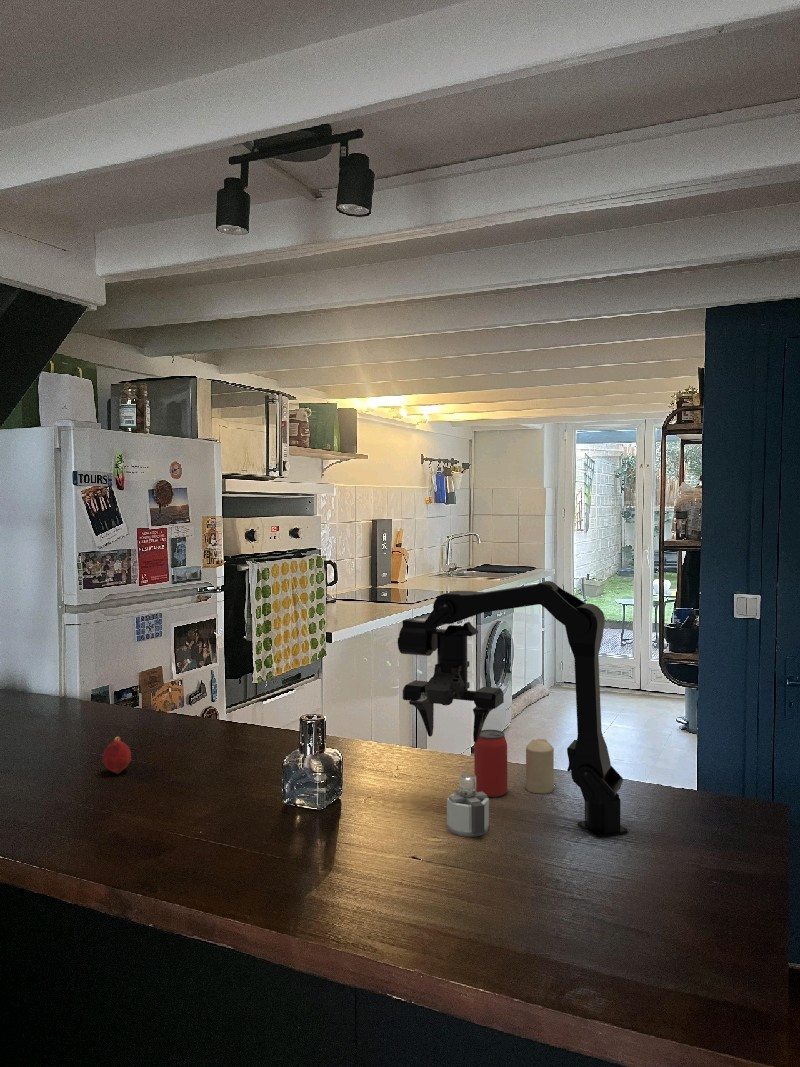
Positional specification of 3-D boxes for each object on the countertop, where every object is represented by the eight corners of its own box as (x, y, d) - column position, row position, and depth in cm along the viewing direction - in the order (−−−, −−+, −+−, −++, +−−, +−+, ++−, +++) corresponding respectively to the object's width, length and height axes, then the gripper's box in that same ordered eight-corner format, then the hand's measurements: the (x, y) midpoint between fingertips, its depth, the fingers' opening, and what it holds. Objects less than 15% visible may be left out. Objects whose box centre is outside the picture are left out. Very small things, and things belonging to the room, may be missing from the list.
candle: (545, 796, 162) (545, 746, 162) (521, 790, 166) (521, 741, 165) (558, 788, 167) (558, 739, 166) (534, 782, 170) (534, 735, 170)
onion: (125, 778, 175) (125, 741, 175) (99, 778, 175) (98, 741, 175) (135, 769, 181) (134, 733, 180) (109, 769, 181) (108, 733, 181)
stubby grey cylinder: (485, 822, 145) (485, 779, 145) (461, 826, 143) (461, 782, 143) (474, 813, 149) (474, 771, 149) (451, 816, 148) (450, 774, 147)
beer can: (506, 799, 161) (505, 738, 160) (472, 797, 162) (472, 737, 161) (508, 787, 167) (508, 729, 167) (476, 785, 168) (475, 727, 168)
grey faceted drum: (498, 835, 143) (498, 801, 143) (460, 842, 141) (460, 807, 140) (477, 818, 151) (477, 786, 151) (441, 824, 148) (441, 791, 148)
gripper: (389, 661, 153) (390, 744, 153) (485, 669, 145) (485, 756, 146) (414, 651, 163) (414, 729, 163) (504, 658, 155) (504, 740, 156)
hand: (452, 738), depth 157 cm, fingers open, 9 cm apart
